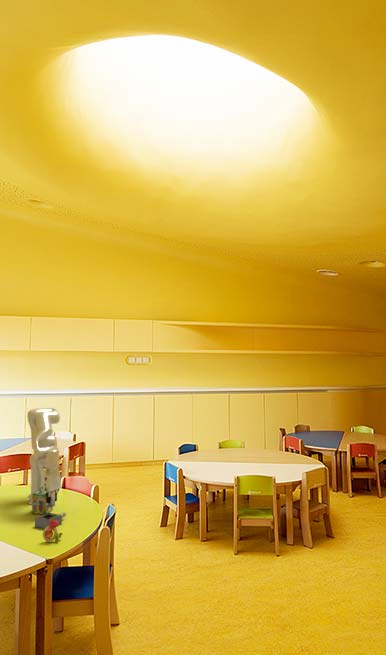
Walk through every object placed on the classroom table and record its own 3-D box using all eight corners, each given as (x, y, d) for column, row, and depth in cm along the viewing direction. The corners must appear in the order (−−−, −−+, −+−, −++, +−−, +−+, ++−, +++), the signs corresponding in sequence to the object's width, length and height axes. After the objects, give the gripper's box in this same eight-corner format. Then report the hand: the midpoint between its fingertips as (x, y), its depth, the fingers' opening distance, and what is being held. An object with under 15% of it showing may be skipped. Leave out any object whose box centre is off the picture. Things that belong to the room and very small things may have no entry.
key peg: (45, 506, 264) (46, 487, 265) (51, 503, 268) (51, 485, 269) (51, 507, 262) (51, 489, 262) (57, 505, 266) (57, 487, 266)
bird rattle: (46, 549, 221) (64, 540, 223) (37, 528, 221) (55, 519, 223) (48, 544, 227) (65, 535, 229) (39, 524, 227) (56, 515, 229)
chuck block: (34, 527, 246) (34, 517, 247) (58, 518, 261) (58, 509, 261) (47, 530, 241) (47, 520, 242) (70, 520, 256) (70, 511, 257)
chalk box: (45, 514, 267) (45, 489, 269) (31, 514, 269) (31, 488, 270) (53, 510, 276) (53, 485, 278) (39, 509, 278) (40, 484, 279)
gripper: (45, 474, 257) (45, 507, 256) (67, 468, 271) (66, 499, 271) (36, 472, 261) (35, 505, 260) (58, 466, 275) (57, 496, 274)
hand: (51, 501), depth 265 cm, fingers closed on key peg, 4 cm apart
